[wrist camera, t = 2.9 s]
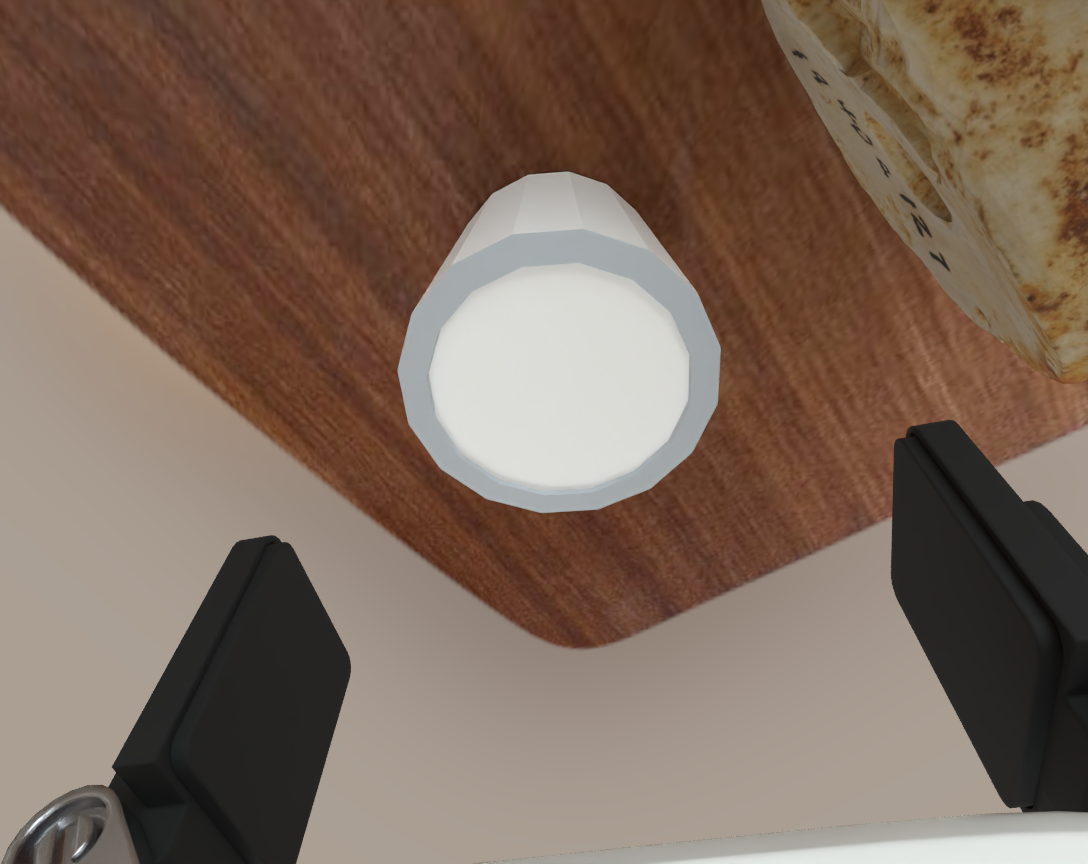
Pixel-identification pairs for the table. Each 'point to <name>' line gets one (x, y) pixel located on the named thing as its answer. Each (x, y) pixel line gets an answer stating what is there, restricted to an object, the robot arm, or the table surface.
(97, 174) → the table surface
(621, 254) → the white round jar
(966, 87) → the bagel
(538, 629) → the table surface
